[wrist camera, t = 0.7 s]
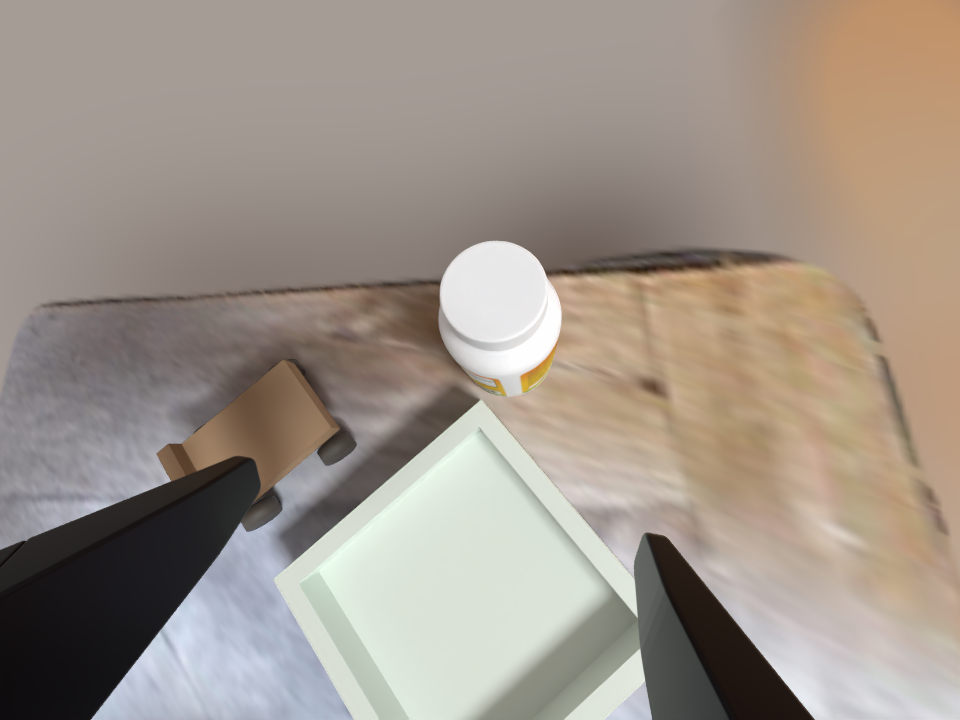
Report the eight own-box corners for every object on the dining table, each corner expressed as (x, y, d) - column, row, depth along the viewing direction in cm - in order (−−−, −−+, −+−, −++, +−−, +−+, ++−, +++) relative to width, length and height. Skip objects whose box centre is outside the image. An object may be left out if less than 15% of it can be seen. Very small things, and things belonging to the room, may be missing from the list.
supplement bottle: (545, 304, 23) (554, 209, 14) (560, 390, 22) (583, 348, 13) (459, 319, 24) (413, 236, 15) (469, 403, 23) (427, 373, 13)
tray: (453, 815, 18) (441, 872, 16) (301, 564, 22) (273, 579, 19) (667, 616, 19) (687, 641, 17) (486, 404, 22) (481, 399, 20)
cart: (260, 529, 23) (206, 546, 19) (209, 442, 24) (149, 441, 20) (364, 440, 23) (332, 439, 19) (307, 361, 25) (266, 345, 21)
